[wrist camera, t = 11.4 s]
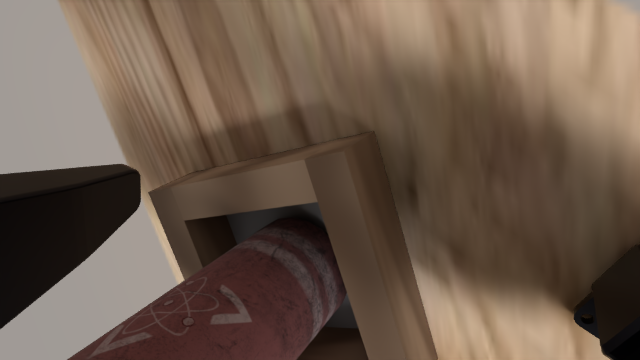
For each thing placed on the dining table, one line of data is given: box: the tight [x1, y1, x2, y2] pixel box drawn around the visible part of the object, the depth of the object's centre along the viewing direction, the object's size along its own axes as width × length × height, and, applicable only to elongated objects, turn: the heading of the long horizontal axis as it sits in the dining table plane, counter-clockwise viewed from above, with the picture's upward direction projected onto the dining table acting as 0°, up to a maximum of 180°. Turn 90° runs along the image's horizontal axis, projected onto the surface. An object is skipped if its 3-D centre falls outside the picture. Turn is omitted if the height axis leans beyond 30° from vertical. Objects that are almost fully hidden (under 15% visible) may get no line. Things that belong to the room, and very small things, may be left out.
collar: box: [148, 131, 438, 360], centre depth 23 cm, size 13×13×4 cm
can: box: [68, 217, 347, 360], centre depth 19 cm, size 6×6×14 cm
